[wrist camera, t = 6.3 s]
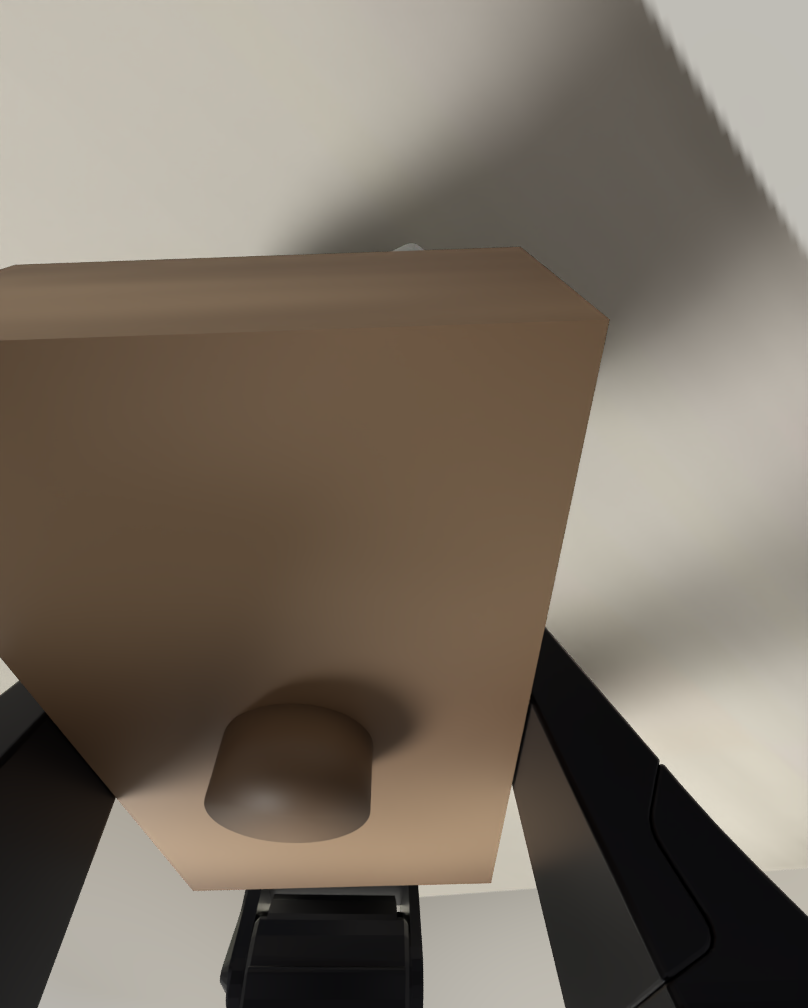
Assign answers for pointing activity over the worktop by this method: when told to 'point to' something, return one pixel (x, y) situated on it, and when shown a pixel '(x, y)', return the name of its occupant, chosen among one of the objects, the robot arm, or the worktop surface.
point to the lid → (292, 544)
